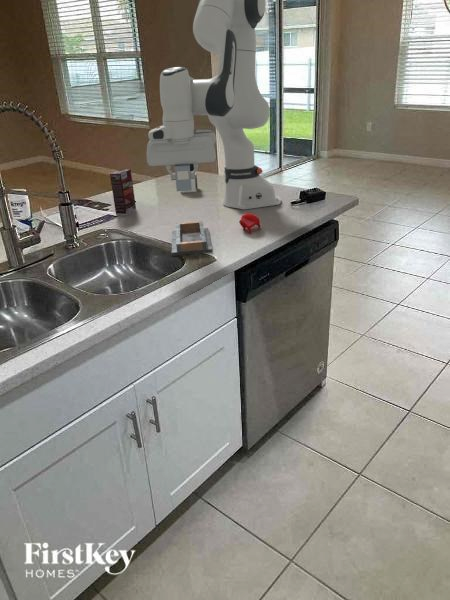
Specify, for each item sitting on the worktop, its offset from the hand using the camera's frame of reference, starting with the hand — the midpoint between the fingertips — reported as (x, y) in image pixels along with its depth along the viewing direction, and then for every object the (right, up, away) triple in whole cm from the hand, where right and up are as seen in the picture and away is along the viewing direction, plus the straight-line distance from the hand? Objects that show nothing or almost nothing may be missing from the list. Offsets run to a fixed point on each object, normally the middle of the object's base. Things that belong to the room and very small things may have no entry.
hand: (183, 179), depth 141 cm
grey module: (0, -2, +1) cm, 3 cm away
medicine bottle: (-3, +12, +67) cm, 69 cm away
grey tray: (+2, -18, +8) cm, 20 cm away
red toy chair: (+21, -13, +15) cm, 29 cm away
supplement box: (-26, -2, +42) cm, 49 cm away
